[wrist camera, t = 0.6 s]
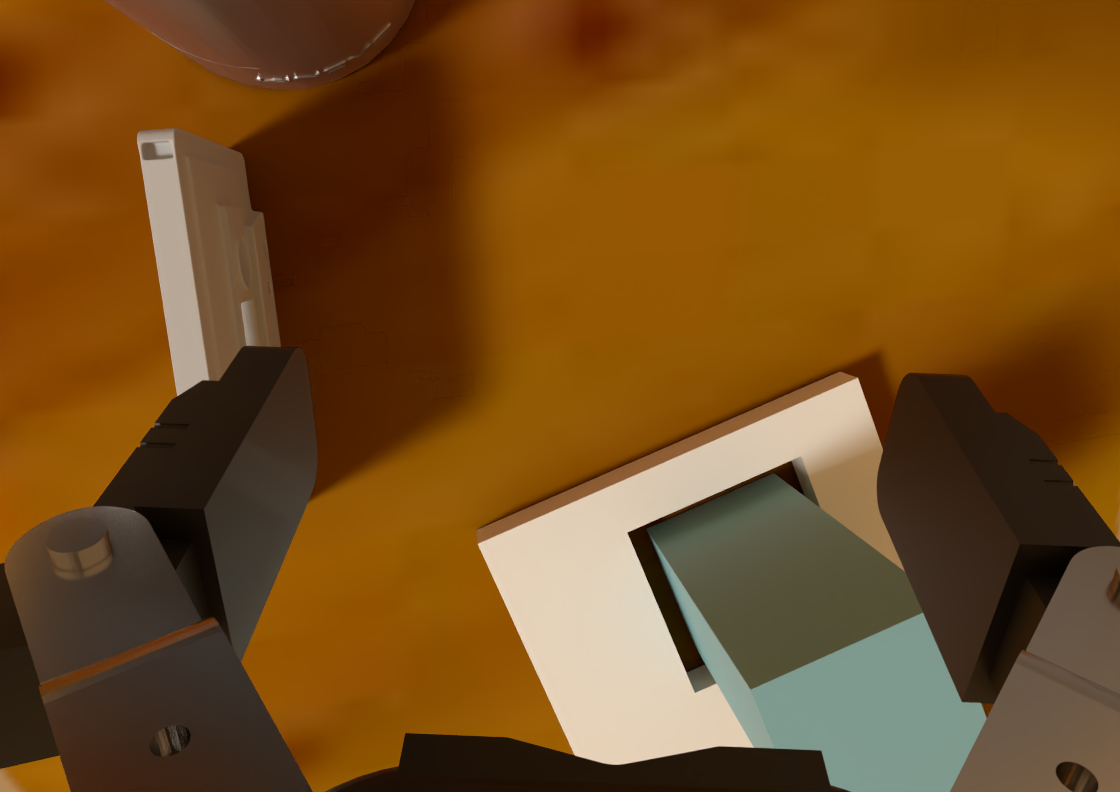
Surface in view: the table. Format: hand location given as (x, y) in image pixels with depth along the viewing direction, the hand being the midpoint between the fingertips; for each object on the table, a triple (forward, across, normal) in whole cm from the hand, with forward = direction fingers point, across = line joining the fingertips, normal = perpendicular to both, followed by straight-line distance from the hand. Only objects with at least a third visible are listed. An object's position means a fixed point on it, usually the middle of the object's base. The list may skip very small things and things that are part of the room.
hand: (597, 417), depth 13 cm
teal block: (+15, -6, +16) cm, 23 cm away
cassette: (+16, +11, +8) cm, 21 cm away
